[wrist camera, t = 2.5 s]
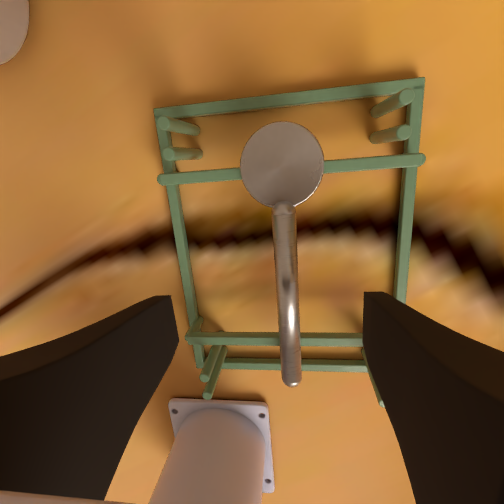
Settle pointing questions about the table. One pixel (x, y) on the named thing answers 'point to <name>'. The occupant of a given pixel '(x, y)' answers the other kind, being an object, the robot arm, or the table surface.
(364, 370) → the rack
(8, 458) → the robot arm
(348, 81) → the table surface
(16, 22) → the beverage can
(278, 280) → the spoon
